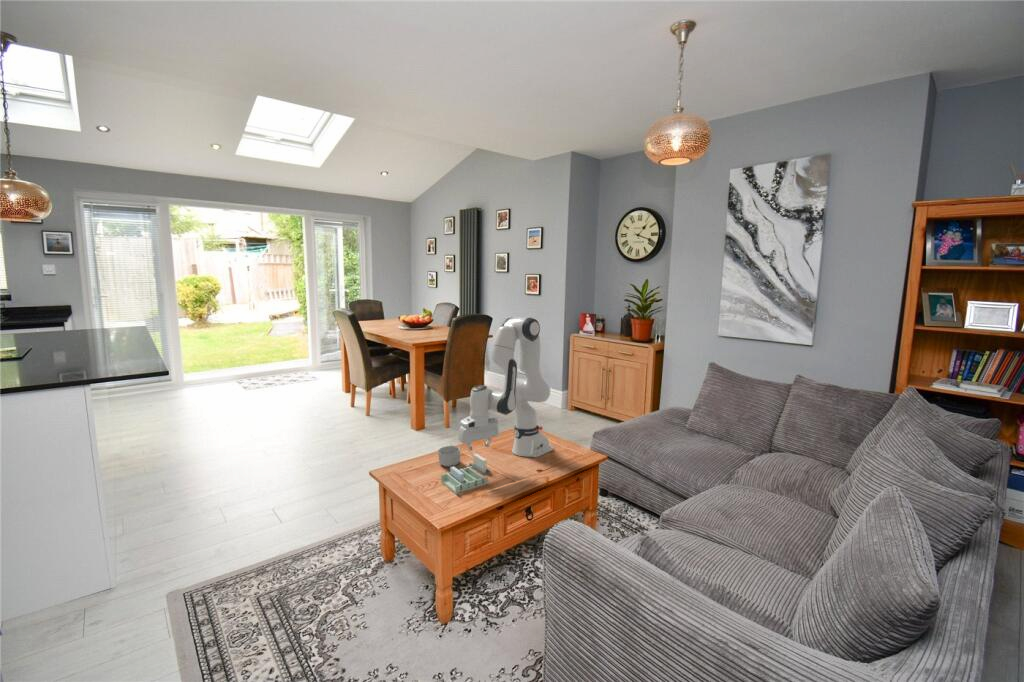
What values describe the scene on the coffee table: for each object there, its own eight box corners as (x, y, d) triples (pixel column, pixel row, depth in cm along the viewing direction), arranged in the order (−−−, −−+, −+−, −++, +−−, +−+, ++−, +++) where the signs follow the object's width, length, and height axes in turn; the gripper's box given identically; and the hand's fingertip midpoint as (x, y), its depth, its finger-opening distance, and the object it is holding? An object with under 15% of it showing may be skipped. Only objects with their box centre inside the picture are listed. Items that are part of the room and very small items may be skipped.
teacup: (456, 470, 217) (456, 454, 216) (434, 468, 219) (434, 452, 218) (464, 459, 230) (464, 443, 229) (444, 457, 233) (444, 442, 231)
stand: (477, 464, 224) (477, 460, 224) (491, 473, 213) (491, 470, 213) (468, 466, 221) (468, 463, 221) (482, 476, 211) (482, 472, 210)
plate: (476, 465, 221) (476, 453, 220) (486, 471, 214) (486, 459, 213) (473, 466, 220) (473, 454, 219) (483, 472, 213) (483, 460, 212)
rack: (471, 473, 214) (471, 459, 212) (487, 484, 202) (487, 469, 201) (441, 482, 204) (440, 467, 203) (456, 494, 193) (455, 478, 192)
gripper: (493, 415, 222) (493, 442, 224) (456, 421, 210) (456, 450, 212) (501, 418, 217) (500, 446, 218) (463, 425, 205) (463, 454, 207)
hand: (478, 448), depth 215 cm, fingers open, 8 cm apart
